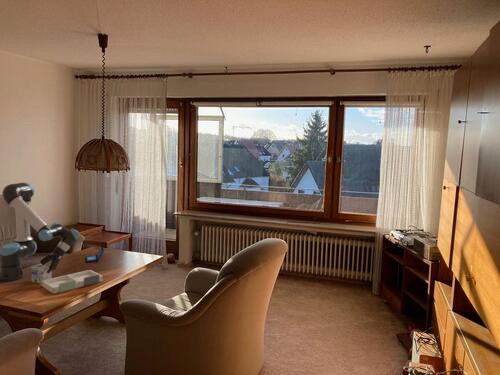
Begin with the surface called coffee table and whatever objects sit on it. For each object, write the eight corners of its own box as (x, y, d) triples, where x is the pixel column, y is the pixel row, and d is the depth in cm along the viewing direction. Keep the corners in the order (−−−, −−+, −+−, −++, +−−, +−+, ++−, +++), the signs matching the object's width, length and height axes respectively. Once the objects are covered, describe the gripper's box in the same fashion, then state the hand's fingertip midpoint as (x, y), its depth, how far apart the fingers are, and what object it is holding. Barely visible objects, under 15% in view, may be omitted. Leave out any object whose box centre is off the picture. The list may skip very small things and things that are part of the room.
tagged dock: (53, 294, 243) (53, 285, 242) (41, 285, 256) (41, 277, 255) (104, 281, 267) (103, 273, 266) (90, 274, 280) (90, 267, 280)
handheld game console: (85, 257, 322) (85, 246, 321) (102, 256, 327) (102, 245, 326) (86, 263, 307) (85, 251, 306) (104, 261, 313) (103, 250, 312)
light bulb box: (31, 282, 262) (30, 266, 261) (38, 279, 269) (38, 263, 268) (44, 283, 260) (44, 268, 259) (52, 280, 266) (51, 265, 265)
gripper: (73, 255, 266) (50, 282, 257) (58, 248, 283) (36, 273, 273) (65, 249, 262) (42, 276, 252) (50, 242, 278) (28, 267, 269)
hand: (39, 274), depth 263 cm, fingers open, 13 cm apart
